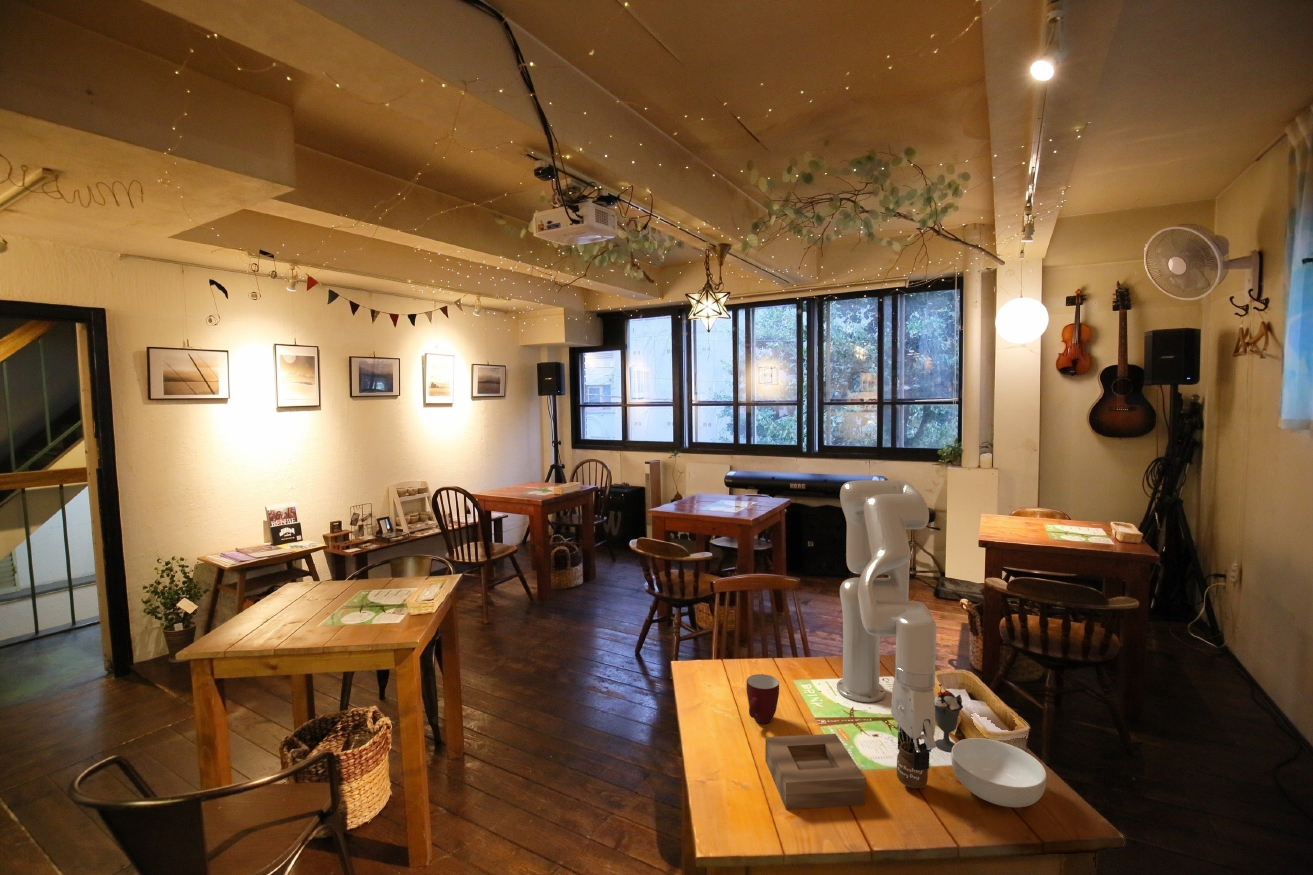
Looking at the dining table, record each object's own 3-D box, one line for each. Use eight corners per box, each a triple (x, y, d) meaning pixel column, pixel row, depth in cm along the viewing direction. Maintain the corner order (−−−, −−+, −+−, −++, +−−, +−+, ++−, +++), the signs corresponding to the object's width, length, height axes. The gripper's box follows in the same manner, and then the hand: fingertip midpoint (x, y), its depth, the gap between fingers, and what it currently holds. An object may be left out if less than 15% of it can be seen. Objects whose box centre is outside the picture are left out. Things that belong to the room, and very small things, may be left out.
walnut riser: (765, 760, 135) (765, 737, 134) (835, 757, 136) (835, 733, 135) (785, 809, 119) (785, 782, 118) (864, 804, 120) (865, 777, 120)
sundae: (926, 746, 139) (927, 683, 139) (936, 734, 144) (937, 673, 143) (956, 757, 135) (958, 692, 134) (965, 745, 140) (967, 682, 139)
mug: (770, 736, 144) (770, 696, 144) (738, 728, 148) (738, 688, 147) (782, 715, 154) (782, 677, 153) (752, 708, 157) (752, 671, 157)
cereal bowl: (995, 829, 113) (996, 793, 112) (932, 776, 129) (933, 744, 128) (1066, 812, 117) (1068, 777, 117) (997, 762, 133) (998, 731, 133)
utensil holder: (901, 767, 129) (902, 713, 128) (932, 779, 125) (934, 723, 124) (892, 781, 125) (893, 725, 124) (924, 793, 121) (925, 736, 120)
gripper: (878, 657, 132) (877, 736, 133) (918, 697, 115) (916, 787, 116) (911, 655, 132) (910, 734, 134) (956, 695, 115) (953, 785, 117)
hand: (912, 758), depth 125 cm, fingers closed on utensil holder, 5 cm apart
